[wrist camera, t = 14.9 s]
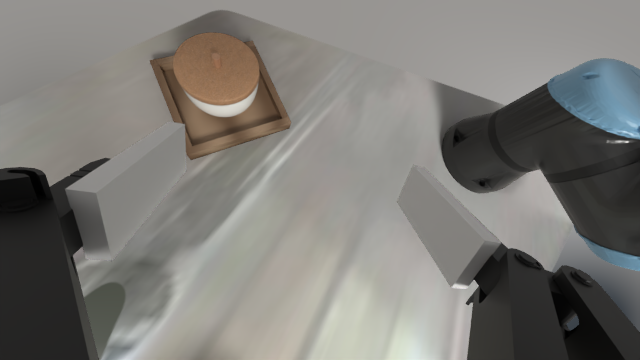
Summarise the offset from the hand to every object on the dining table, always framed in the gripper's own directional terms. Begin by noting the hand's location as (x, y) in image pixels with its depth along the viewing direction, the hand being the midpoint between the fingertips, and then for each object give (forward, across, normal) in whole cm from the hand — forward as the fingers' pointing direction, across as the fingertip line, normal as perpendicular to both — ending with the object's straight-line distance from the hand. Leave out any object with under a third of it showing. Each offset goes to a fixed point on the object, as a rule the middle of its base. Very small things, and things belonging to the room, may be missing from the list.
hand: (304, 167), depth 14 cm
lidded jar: (+30, -11, -4) cm, 32 cm away
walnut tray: (+30, -11, -5) cm, 32 cm away
